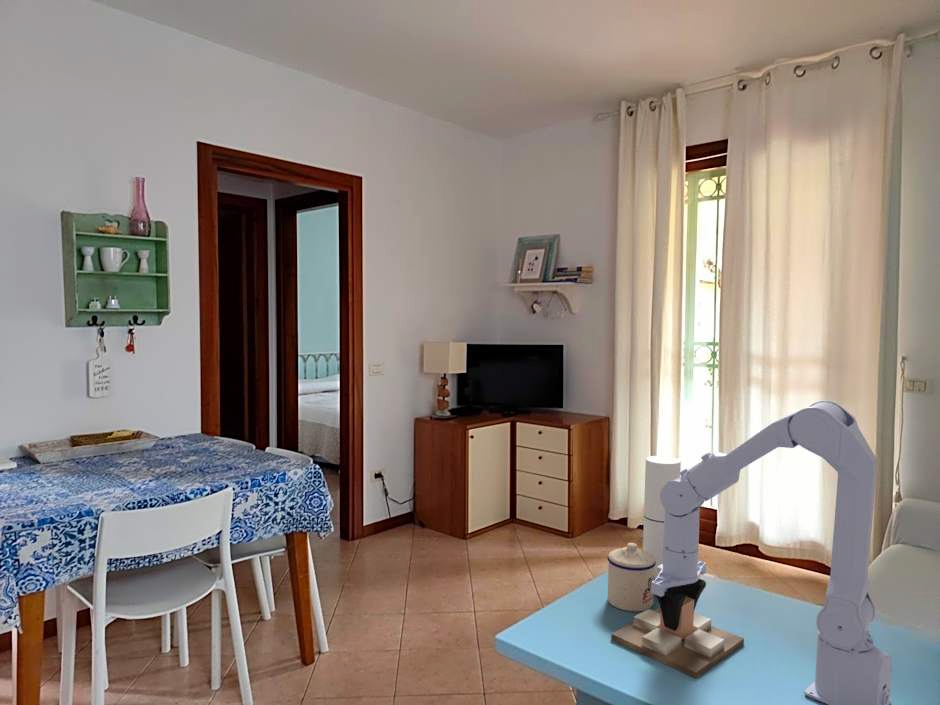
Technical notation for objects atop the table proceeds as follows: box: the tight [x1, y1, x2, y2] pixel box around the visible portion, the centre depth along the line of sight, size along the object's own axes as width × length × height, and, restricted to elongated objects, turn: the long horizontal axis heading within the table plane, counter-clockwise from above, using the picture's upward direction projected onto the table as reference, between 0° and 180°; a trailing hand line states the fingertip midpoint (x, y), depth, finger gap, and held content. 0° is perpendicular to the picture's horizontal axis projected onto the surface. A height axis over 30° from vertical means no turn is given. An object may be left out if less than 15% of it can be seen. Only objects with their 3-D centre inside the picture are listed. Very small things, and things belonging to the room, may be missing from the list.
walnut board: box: [610, 607, 745, 679], centre depth 117 cm, size 16×16×2 cm
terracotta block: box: [660, 597, 695, 640], centre depth 117 cm, size 4×4×6 cm
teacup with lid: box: [607, 542, 656, 612], centre depth 133 cm, size 12×9×12 cm
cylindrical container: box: [642, 455, 682, 579], centre depth 145 cm, size 7×7×25 cm
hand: (677, 623), depth 117 cm, fingers closed on terracotta block, 4 cm apart
